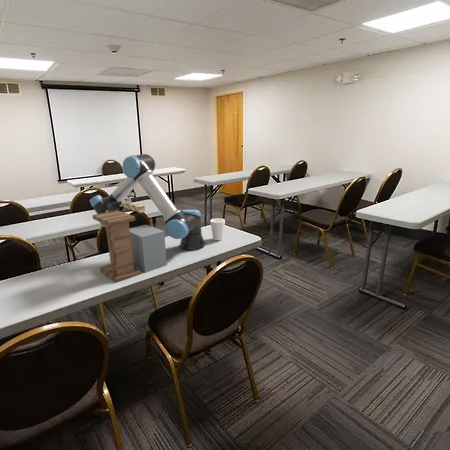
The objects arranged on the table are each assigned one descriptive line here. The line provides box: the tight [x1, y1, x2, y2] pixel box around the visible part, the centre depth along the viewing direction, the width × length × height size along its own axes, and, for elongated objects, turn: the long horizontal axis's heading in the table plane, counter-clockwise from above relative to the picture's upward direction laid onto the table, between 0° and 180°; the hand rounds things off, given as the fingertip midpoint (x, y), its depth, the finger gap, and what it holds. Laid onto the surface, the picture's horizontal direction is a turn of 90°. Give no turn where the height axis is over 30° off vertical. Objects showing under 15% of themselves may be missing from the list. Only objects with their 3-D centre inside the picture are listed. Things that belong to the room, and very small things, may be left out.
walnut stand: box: [92, 210, 142, 283], centre depth 157 cm, size 18×13×30 cm
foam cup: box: [210, 217, 226, 241], centre depth 206 cm, size 10×9×13 cm
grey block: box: [129, 224, 168, 273], centre depth 169 cm, size 18×13×19 cm
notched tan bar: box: [118, 199, 146, 214], centre depth 170 cm, size 24×3×3 cm, turn 44°
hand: (127, 199), depth 172 cm, fingers closed on notched tan bar, 3 cm apart
